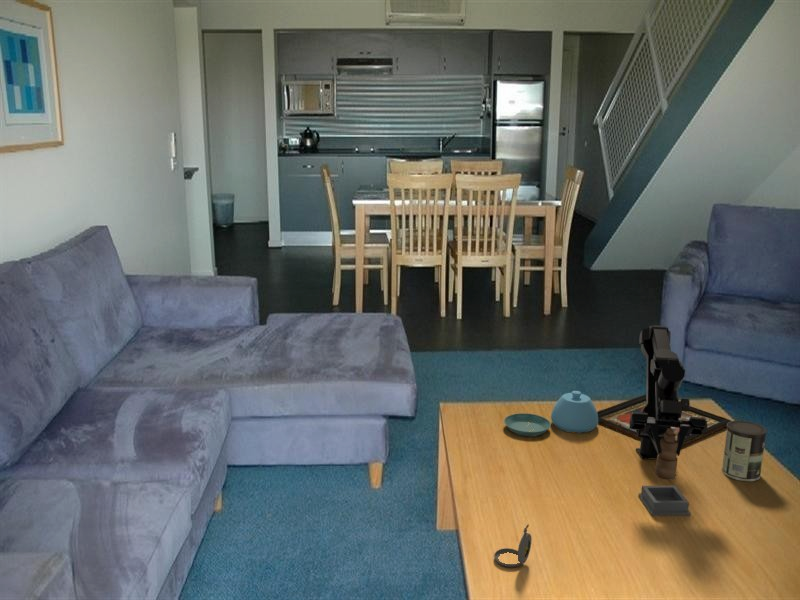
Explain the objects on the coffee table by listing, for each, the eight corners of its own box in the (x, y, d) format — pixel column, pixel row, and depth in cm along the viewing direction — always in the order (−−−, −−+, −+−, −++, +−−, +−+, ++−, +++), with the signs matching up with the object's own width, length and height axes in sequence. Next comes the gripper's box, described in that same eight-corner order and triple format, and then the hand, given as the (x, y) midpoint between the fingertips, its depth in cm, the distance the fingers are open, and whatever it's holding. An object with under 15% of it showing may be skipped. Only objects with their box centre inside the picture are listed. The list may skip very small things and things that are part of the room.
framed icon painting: (639, 394, 280) (639, 387, 279) (736, 424, 256) (737, 416, 255) (581, 424, 254) (581, 416, 253) (682, 460, 230) (683, 451, 229)
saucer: (495, 431, 246) (496, 424, 245) (516, 417, 257) (516, 409, 257) (538, 443, 237) (538, 435, 237) (557, 427, 249) (558, 420, 249)
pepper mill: (651, 474, 202) (656, 427, 199) (662, 469, 205) (667, 423, 202) (667, 481, 198) (673, 433, 195) (679, 476, 201) (684, 429, 198)
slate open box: (638, 496, 206) (639, 484, 205) (675, 495, 206) (676, 484, 205) (651, 515, 196) (652, 503, 195) (690, 515, 196) (691, 503, 196)
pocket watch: (491, 552, 178) (493, 513, 176) (527, 551, 179) (529, 512, 177) (498, 573, 171) (501, 532, 168) (536, 572, 171) (539, 531, 169)
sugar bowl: (549, 415, 259) (551, 382, 256) (595, 418, 257) (597, 385, 254) (551, 433, 245) (554, 398, 242) (600, 436, 243) (603, 402, 240)
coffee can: (755, 467, 224) (762, 421, 220) (764, 483, 214) (771, 436, 210) (717, 463, 226) (723, 418, 222) (725, 479, 216) (731, 432, 212)
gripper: (634, 382, 201) (635, 439, 193) (710, 388, 198) (713, 446, 190) (629, 400, 211) (629, 455, 203) (701, 406, 207) (704, 462, 199)
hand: (668, 454), depth 199 cm, fingers closed on pepper mill, 4 cm apart
